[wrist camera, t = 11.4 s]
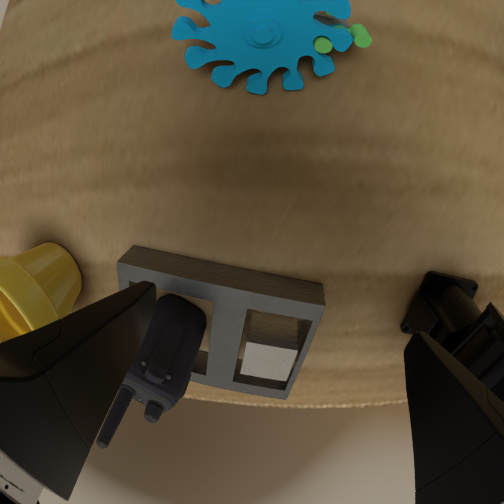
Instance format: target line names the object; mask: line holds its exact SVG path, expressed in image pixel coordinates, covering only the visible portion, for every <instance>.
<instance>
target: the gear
mask: <svg viewBox="0 0 504 504" xmlns="http://www.w3.org/2000/svg"><path fill="white" fill-rule="evenodd" d="M176 2H177V3H178V4H179V5H180V6H182V7H186V8H191V9H194V10H196V11H198V12H199V13H201V14H202V15H203V16H204V17H205V18H206V19H207V20H208V22H209V23H210V26H208V27H205V28H201V27H198V26H197V25H196V24H195V23H194V22H193V21H192V20H191V19H190V18H188V17H184V16H181V17H178V19H177V20H176V22H175V24H174V26H173V29H172V37H171V38H173V39H175V40H185V39H201V40H204V41H207V42H209V43H212V44H214V45H215V46H216V48H215V49H212V50H208V49H205V48H202V47H200V46H191V47H189V48H187V50H186V53H185V60H186V63H187V65H188V66H189V68H191V69H196V68H199V67H201V66H202V65H204V64H206V63H208V62H211V61H215V60H230V61H232V62H234V63H235V64H234V65H231V66H218V67H216V68H214V70H213V72H212V76H211V79H212V81H213V82H215V83H216V84H217V85H219V86H220V87H222V88H225V87H228V86H229V85H230V84H231V82H232V80H233V79H234V78H235V77H236V76H237V75H238V74H240V73H241V72H243V71H246V70H249V69H252V68H255V69H259V70H260V72H259V73H256V74H253V75H251V76H249V77H248V79H247V91H249V92H252V93H255V94H260V95H263V94H265V93H266V91H267V79H268V77H269V76H270V74H271V73H272V72H273V71H274V70H275V69H276V68H278V67H286V68H288V70H287V71H286V72H285V73H284V74H283V77H282V79H283V87H284V89H285V90H298V89H302V88H303V86H304V84H303V77H302V74H301V73H300V72H299V71H298V69H297V64H298V60H299V58H300V57H302V56H306V55H308V56H311V57H313V60H312V64H313V69H314V72H315V74H316V75H318V76H324V75H327V74H329V73H331V72H333V71H334V70H335V66H334V63H333V60H332V58H331V57H329V56H328V55H325V54H324V53H328V52H330V51H331V50H332V46H333V47H334V48H335V49H336V50H337V51H340V52H344V51H346V50H347V49H348V48H349V47H350V45H351V44H352V42H353V40H354V42H355V44H356V45H357V46H359V47H362V48H364V47H368V46H369V45H370V44H371V43H372V39H371V37H370V35H369V33H368V32H367V30H366V28H365V27H364V26H363V25H361V24H354V25H352V26H351V27H350V26H349V24H348V23H347V21H346V20H345V19H348V18H349V17H350V12H351V9H350V2H349V1H348V0H221V2H220V3H219V4H216V5H210V4H208V3H206V2H205V1H204V0H176ZM318 11H325V12H324V14H322V13H316V12H318Z"/></svg>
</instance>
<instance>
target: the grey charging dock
mask: <svg viewBox="0 0 504 504" xmlns="http://www.w3.org/2000/svg"><path fill="white" fill-rule="evenodd" d="M117 271H118V282H119V291H121V290H123V289H125V288H128V287H130V286H132V285H134V284H137V283H139V282H141V281H144V280H145V281H149V282H153V283H155V284H156V288H159V289H163V290H167V291H171V292H175V293H179V294H184V295H188V296H192V297H197V298H201V299H205V300H210V301H214V306H213V315H212V324H211V333H210V342H209V352H208V353H207V352H203V351H198V354H197V357H196V360H195V363H194V365H193V368H192V372H191V377H190V380H189V381H192V382H196V383H200V384H204V385H209V386H213V387H217V388H222V389H227V390H231V391H236V392H242V393H247V394H252V395H258V396H264V397H270V398H277V399H283V400H286V399H287V397H288V395H289V393H290V391H291V388H292V386H293V384H294V382H295V379H296V377H297V375H298V373H299V370H300V368H301V366H302V364H303V361H304V359H305V356H306V354H307V352H308V349H309V347H310V345H311V342H312V340H313V337H314V335H315V332H316V330H317V327H318V325H319V322H320V320H321V317H322V314H323V312H324V309H325V306H326V305H325V299H324V293H323V287H322V284H319V283H314V282H309V281H304V280H299V279H293V278H288V277H283V276H278V275H273V274H268V273H263V272H258V271H253V270H248V269H243V268H238V267H234V266H229V265H224V264H219V263H214V262H209V261H205V260H200V259H195V258H190V257H186V256H181V255H176V254H172V253H167V252H162V251H158V250H153V249H149V248H144V247H140V246H135V245H133V246H132V247H131V248H130V249H129V250H128V251H127V252H126V253H125V254H124V255H123V256H122V257H121V258H120V259H119V260H118V261H117ZM247 308H248V309H253V310H258V311H263V312H268V313H273V314H278V315H284V316H289V317H295V318H300V319H304V320H303V323H302V326H301V329H300V332H299V334H298V352H297V355H296V357H295V360H294V363H293V365H292V368H291V370H290V373H289V376H288V378H287V381H280V380H274V379H267V378H261V377H256V376H250V375H245V374H240V372H241V367H242V362H243V360H239V359H237V357H238V353H239V348H240V343H241V338H242V333H243V328H244V323H245V318H246V313H247Z"/></svg>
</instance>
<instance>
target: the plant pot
mask: <svg viewBox="0 0 504 504" xmlns="http://www.w3.org/2000/svg"><path fill="white" fill-rule="evenodd" d="M81 286H82V279H81V274H80V271H79V268H78V266H77V264H76V262H75V261H74V259H73V258H72V256H71V255H70V254H69V253H68V252H67V251H66V250H65V249H64V248H63V247H61V246H59V245H58V244H55V243H50V242H49V243H44V244H42V245H39V246H37V247H35V248H32V249H30V250H27V251H25V252H22V253H20V254H18V255H15V256H13V257H10V258H8V257H0V343H1V342H3V341H6V340H9V339H11V338H14V337H17V336H20V335H22V334H25V333H28V332H30V331H33V330H35V329H38V328H40V327H43V326H45V325H47V324H49V323H52V322H54V321H56V320H58V319H60V318H61V319H62V318H63V317H65V316H67V315H68V314H69V312H70V310H71V308H72V306H73V304H74V302H75V300H76V298H77V296H78V295H79V293H80V290H81Z"/></svg>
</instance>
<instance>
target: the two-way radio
mask: <svg viewBox="0 0 504 504" xmlns="http://www.w3.org/2000/svg"><path fill="white" fill-rule="evenodd" d="M205 328H206V322H205V317H204V315H203V313H201V312H200V311H199V310H198V309H196V308H195V307H193V306H192V305H190V304H188V303H187V302H185V301H183V300H181V299H179V298H177V297H174V296H167V295H166V296H165V297H162V298H159V299H158V300H157V304H156V309H155V312H154V314H153V317H152V319H151V322H150V324H149V327H148V330H147V332H146V335H145V337H144V340H143V343H142V345H141V347H140V349H139V351H138V353H137V355H136V357H135V359H134V361H133V363H132V365H131V367H130V369H129V370H128V372H127V374H126V376H125V378H124V380H123V382H122V384H121V386H120V388H119V392H118V394H117V396H116V399H115V400H114V403H113V405H112V407H111V409H110V411H109V413H108V415H107V417H106V420H105V422H104V424H103V426H102V429H101V431H100V434H99V436H98V438H97V441H96V442H97V445H98V446H99V447H100V448H107V446H108V445H109V443H110V441H111V439H112V437H113V435H114V433H115V431H116V429H117V427H118V425H119V424H120V422H121V420H122V417H123V415H124V413H125V411H126V409H127V407H128V405H129V403H130V401H131V399H132V398H133V399H135V400H136V401H138V402H140V403H142V404H144V405H146V408H145V413H144V418H145V420H147V421H148V422H151V423H156V422H157V421H158V419H159V417H160V416H161V414H162V413H163V412H166V411H168V410H170V409H171V408H173V407H174V405H175V404H176V403H177V402H178V400H179V399H180V398H182V397H183V396H184V394H185V391H186V389H187V386H188V383H189V380H190V377H191V372H192V368H193V365H194V363H195V360H196V357H197V354H198V351H199V348H200V345H201V341H202V338H203V334H204V331H205Z"/></svg>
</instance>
